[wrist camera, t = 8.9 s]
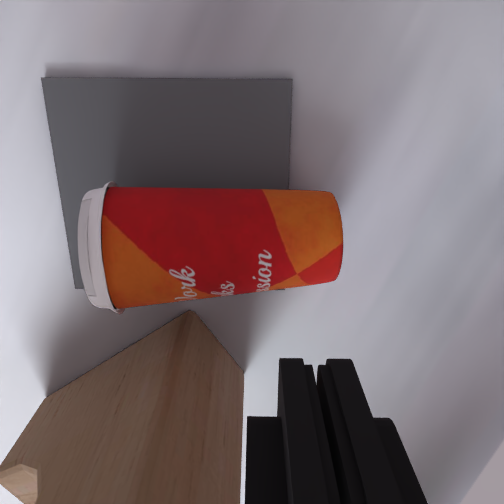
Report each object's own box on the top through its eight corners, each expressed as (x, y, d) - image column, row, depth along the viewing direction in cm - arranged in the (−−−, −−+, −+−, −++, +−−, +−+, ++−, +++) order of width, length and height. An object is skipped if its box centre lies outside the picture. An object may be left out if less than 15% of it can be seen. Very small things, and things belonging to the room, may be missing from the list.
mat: (284, 286, 31) (284, 289, 31) (77, 285, 31) (75, 288, 31) (291, 79, 26) (292, 79, 25) (44, 77, 26) (41, 77, 25)
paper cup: (316, 293, 30) (112, 307, 29) (310, 185, 30) (106, 193, 29) (354, 306, 22) (76, 325, 21) (345, 159, 22) (68, 169, 21)
